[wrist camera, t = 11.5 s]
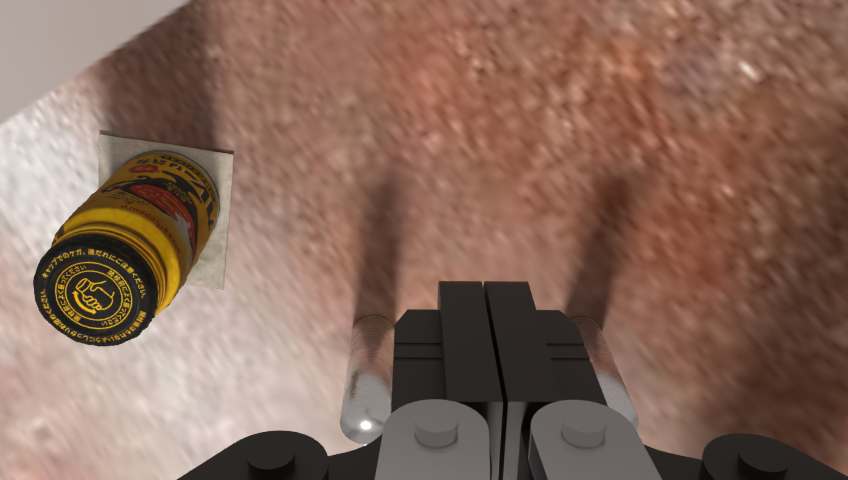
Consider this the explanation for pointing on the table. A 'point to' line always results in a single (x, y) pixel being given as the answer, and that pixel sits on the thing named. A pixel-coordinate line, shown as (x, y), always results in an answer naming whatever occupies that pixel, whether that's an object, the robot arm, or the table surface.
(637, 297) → the table surface
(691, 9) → the table surface
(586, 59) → the table surface
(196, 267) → the condiment
